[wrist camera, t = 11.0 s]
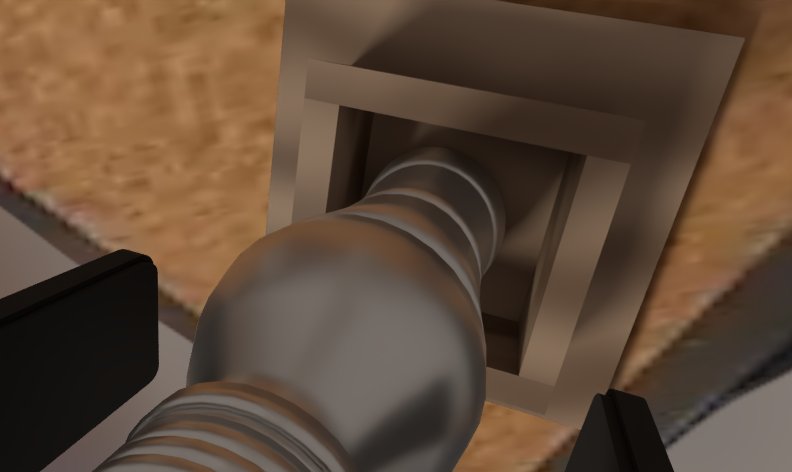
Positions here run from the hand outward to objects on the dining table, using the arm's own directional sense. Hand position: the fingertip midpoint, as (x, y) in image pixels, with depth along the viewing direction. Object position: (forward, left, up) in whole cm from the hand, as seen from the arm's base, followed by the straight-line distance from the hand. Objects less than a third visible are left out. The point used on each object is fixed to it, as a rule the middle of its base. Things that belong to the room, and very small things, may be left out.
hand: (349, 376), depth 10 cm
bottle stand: (0, 0, -17) cm, 17 cm away
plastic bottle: (0, 0, -15) cm, 15 cm away
